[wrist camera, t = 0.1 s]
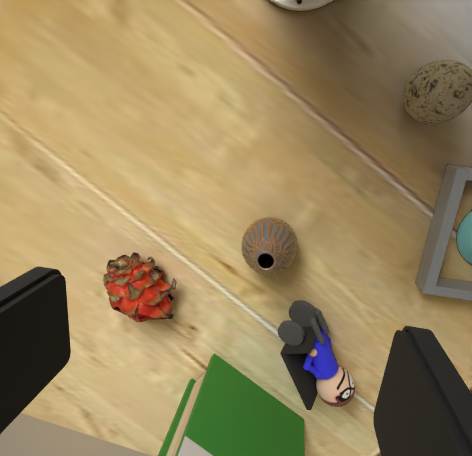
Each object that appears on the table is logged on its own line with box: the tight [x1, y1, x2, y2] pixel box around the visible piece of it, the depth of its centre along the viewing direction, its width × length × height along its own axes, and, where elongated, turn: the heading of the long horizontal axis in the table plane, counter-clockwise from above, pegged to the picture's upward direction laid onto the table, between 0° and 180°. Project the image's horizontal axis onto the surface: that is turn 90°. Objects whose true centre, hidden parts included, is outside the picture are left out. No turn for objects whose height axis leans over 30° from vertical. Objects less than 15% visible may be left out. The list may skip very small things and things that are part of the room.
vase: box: [242, 217, 297, 275], centre depth 43 cm, size 7×7×9 cm
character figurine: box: [278, 301, 355, 410], centre depth 47 cm, size 8×7×15 cm
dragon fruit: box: [103, 253, 176, 322], centre depth 49 cm, size 8×8×12 cm
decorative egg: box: [403, 60, 472, 124], centre depth 34 cm, size 6×6×10 cm
